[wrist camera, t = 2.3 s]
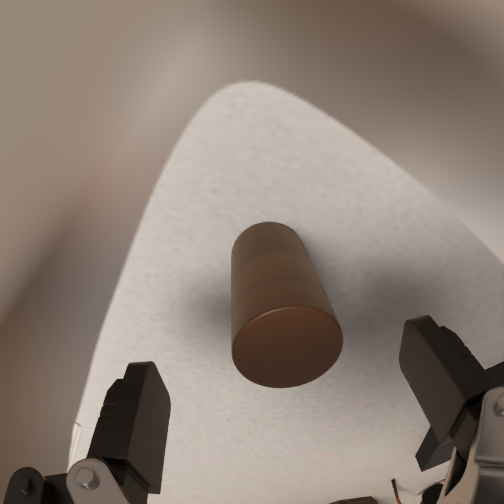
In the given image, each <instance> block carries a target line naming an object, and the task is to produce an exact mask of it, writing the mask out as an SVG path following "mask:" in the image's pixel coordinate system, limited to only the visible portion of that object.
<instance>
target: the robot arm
mask: <svg viewBox="0 0 504 504" xmlns="http://www.w3.org/2000/svg"><path fill="white" fill-rule="evenodd" d="M399 363H400V367H401V370H402V372H403V374H404V376H405V378H406V380H407V382H408V383H409V385H410V387H411V389H412V391H413V393H414V394H415V396H416V398H417V400H418V402H419V404H420V406H421V408H422V409H423V411H424V413H425V415H426V417H427V419H428V421H429V423H430V425H431V427H432V429H433V431H434V433H435V435H436V437H437V439H438V441H439V443H440V445H443V444H445V443H448V442H450V441H453V443H454V445H455V447H454V449H453V452H452V456H451V460H450V464H449V467H448V471H447V474H446V478H445V481H444V484H443V488H442V491H441V494H440V497H439V499H438V502H437V504H504V387H497V386H496V385H495V383H494V382H493V381H492V379H491V378H490V377H489V375H488V374H487V373H486V371H485V370H484V369H483V367H482V366H481V365H480V363H479V362H478V361H477V359H476V358H475V357H474V356H473V355H471V352H470V350H469V349H468V348H467V347H466V346H464V343H463V342H462V340H461V339H460V338H459V337H458V335H457V334H456V333H454V332H453V331H451V330H449V329H448V328H446V327H445V326H441V327H439V326H438V325H437V324H436V322H435V321H434V320H433V319H432V318H431V316H429V315H424V316H420V317H417V318H413V319H409V320H407V321H406V322H405V325H404V331H403V336H402V342H401V347H400V353H399ZM103 405H104V406H102V409H101V412H100V417H99V418H98V421H97V424H96V428H95V431H94V434H93V437H92V441H91V444H90V448H89V451H88V454H87V457H86V459H82V460H80V461H78V462H76V463H75V464H74V465H73V466H72V467H71V468H70V469H69V471H68V473H64V474H58V475H50V476H43V475H42V474H40V473H39V472H38V471H37V470H36V469H34V468H31V467H24V468H21V469H19V470H17V471H16V472H15V473H14V474H13V475H12V477H11V478H10V481H9V485H8V488H7V491H6V495H5V498H4V502H3V504H147V498H148V493H149V494H160V491H161V481H162V472H163V464H164V456H165V448H166V440H167V432H168V425H169V418H170V411H171V402H170V396H169V393H168V391H167V389H166V387H165V385H164V382H163V380H162V378H161V376H160V374H159V372H158V370H157V367H156V365H155V364H154V362H152V361H149V362H133V363H129V364H128V366H127V369H126V372H125V375H124V378H123V379H117V380H116V381H115V382H114V383H113V385H112V386H111V387H110V388H109V389H108V391H107V394H106V397H105V400H104V403H103Z"/></svg>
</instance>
